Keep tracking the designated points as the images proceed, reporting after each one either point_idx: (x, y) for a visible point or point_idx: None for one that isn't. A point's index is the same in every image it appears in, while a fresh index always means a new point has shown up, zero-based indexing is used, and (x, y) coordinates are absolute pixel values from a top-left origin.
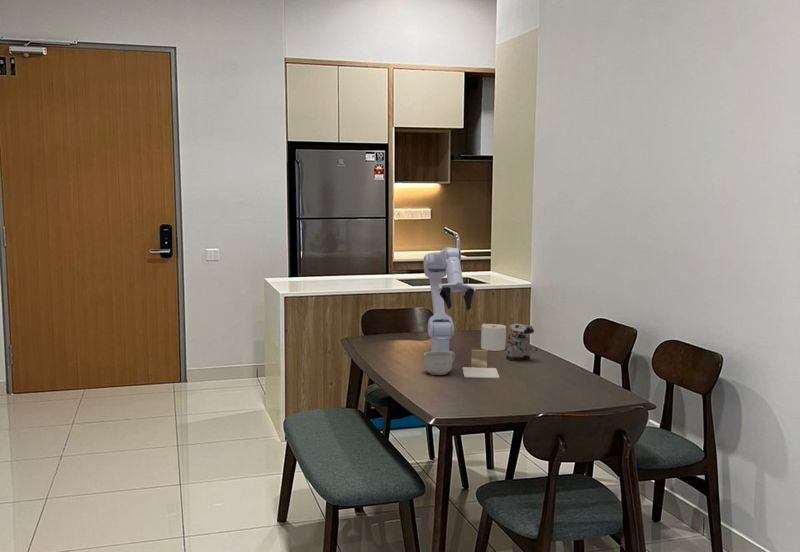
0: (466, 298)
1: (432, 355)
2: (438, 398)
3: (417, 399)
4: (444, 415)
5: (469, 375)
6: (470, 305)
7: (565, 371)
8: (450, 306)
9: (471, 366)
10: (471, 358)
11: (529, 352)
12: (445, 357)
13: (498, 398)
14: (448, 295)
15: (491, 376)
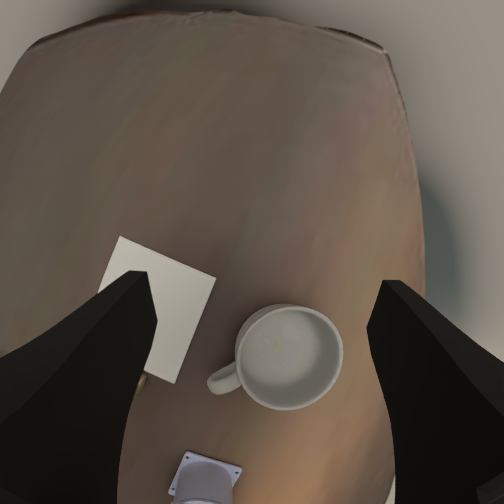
0: (99, 430)
1: (289, 400)
2: (358, 122)
3: (399, 135)
4: (368, 51)
5: (195, 282)
6: (117, 280)
7: None
8: (392, 282)
9: (145, 377)
10: (136, 392)
11: None
12: (284, 307)
13: (226, 80)
14: (481, 361)
15: (136, 252)
